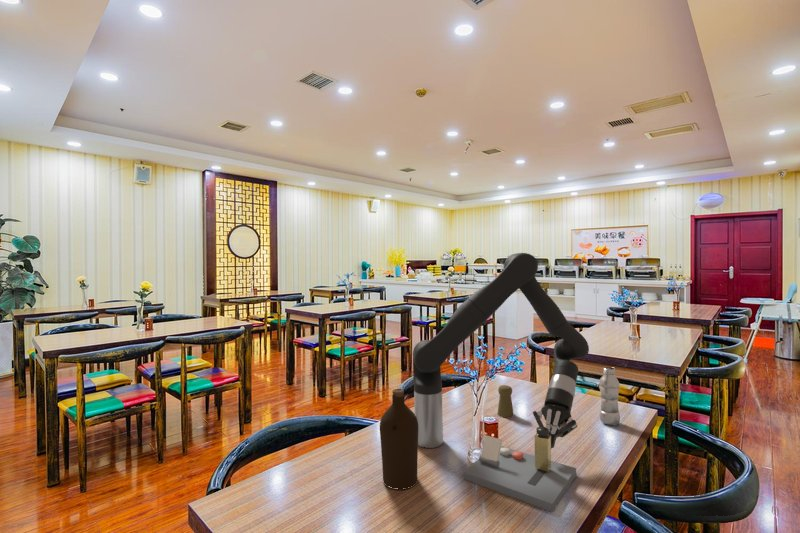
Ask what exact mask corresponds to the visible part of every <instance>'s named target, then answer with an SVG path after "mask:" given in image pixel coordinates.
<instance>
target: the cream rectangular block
mask: <svg viewBox="0 0 800 533" xmlns="http://www.w3.org/2000/svg"><path fill="white" fill-rule="evenodd" d="M502 442H503V440H502V439H500V438H497V437H493V436H490V435H487V434H485V435H484V440H483V445H482V450H481V454H480V455H479V457H478V459H479V461H481V462H484V463H487V464H490V465H493V466H496V467H499V465H500V462H499V455H500V450H501V446H502Z"/></svg>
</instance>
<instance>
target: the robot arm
mask: <svg viewBox="0 0 800 533" xmlns="http://www.w3.org/2000/svg"><path fill="white" fill-rule="evenodd" d="M538 269H539V263H538V260H537V259H536V257H535V256H534V255H532V254H530V253H527V252H517V253H514V254H511V255H509V256H507V258H506V259H505V261H504V263H503V270H502V271H501V272H499V274H498V275H497V276H496V277H495V278H494V279H492V281H490V282H488V283H487V284H486V285H484V286H482V287H481V288H479V289H478V290H476V291H475V292H473V293H471V295H470V296H468V298H466V300H464V301H463V302H462V303H461V305H459V306H458V307H457V309H456V310H455V311H454V312H453V314H452V315H451V316H450V318H449V319H448V321H447V323H446V324H445V326H444V327H443V328H442V329H441V330H440V331H439V332H438V333H437V334H436V335H434V336H433V337H432V338H431V339H424V340H420V341H418V342H417V343H416V345H415V346H414V347H413V351H412V369H413V370H412V373H413V374H412V377H413V396H414V400H413V401H414V402H413V403H414V405H413V406H414V412H413V413H414V414H415V416H416V418H417V421H418V445H419V446H418V447H420V448H424V447H425V448H426V449H434V448H438V447H440V446H442V445H443V443H444V427H443V426H444V422H443V421H444V420H443V419H444V418H443V417H444V415H443V413H444V412H443V382H442V373H441V371H442V370H441V366H442V365H443V364H444V363H445V361H447V359H448V358H449V357H450V356H451V355H452V354H453V352H454V351H455V350H456V349H458V347H459V346H460V345H461V344H462V343H464V342H465V341H466V340H467V339H468V338H469V337H470V336H472V334H474V332H476V331H477V330H478V329H479V328H480V327H482V326H483V325H484V323H485V322H486V321H488V319H489V318H490V317H492V315H493V314H495V313H496V312H497V310H498V309H499V308H500V307H501V306H502V305H503V304H504V303H505V302H506V301H507V300H508V299H509V298H510V296H512V295H513V294H514V293H515V292H517V291H518V290H520V291H521V293H522V294H523V296H524V297H525V298H526V299H527V301H528V302H529V304H530V305H531V307H532V309H533V310H534V312H535V314H536V315H537V316H538V319H539V320H540V322H541V323H542V325H543V326H544V327H545V329H546V331H547V332H548V333H549V335H550V336H552V337H558V338H560V339H558V340H557V341H556V342H555V344H554V347H553V354H554V355H553V356H554V357H553V358H554V367H553V373H552V376H551V378H550V381H549V384H548V387H547V391H546V396H545V399H544V404H543V405H542V407H541V408H540V410H538V411H536V410H534V411H533V412H532V414H533V416H534V419H535V420H536V423H537V425H538V427H545V428H548V429H549V436H551V450H552V449H554V448H555V444H556V439H557V438H559V437H560V438H564V437H566V436H567V435H568V434H570V433H571V432H572V431H574V430H575V429H576V428H578V423H577V421H576V420H575V419H573V417H572V414H571V412H572V407H573V402H574V397H575V396H576V394H575V393H576V384H577V380H578V375H579V366H578V365H577V364H576V363H575V362H573V361H571V360H576V359H582V358H586V357H587V356H588V354H589V352H590V351H589V350H590V347H589V343H588V341H587V340H586V338H585V336H583V334H582V333H580V332H579V331H578V330H577V329H576V328H575V327H574V326H573V325H572V324H570V323H569V321H568V320H567V319H566V317H565V315H564V314H563V312H562V311H561V309H560V308H559V306H558V305H557V303H555V301H554V300H553V299H552V298H551V297H550V295H549V294H548V293H547V292H546V291H545V290H544V289H543V287H542V286H541V284H540V283H539V281H538V280H537V278H536V274H537V272H538ZM543 418H544V419H545V426H544V424H543V422H542V419H543Z"/></svg>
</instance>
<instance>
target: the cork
mask: <svg viewBox="0 0 800 533" xmlns="http://www.w3.org/2000/svg"><path fill="white" fill-rule="evenodd" d="M497 392H498V394H499V399H498V406H497V407H498V408H497V416H499V417H500V418H507V419H509V418H513V417H514V415H515V413H514V408H513V401H512V394H513V388H512V387H511V386H510V385H507V384H503V385H500V386H498V389H497Z"/></svg>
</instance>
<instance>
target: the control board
mask: <svg viewBox="0 0 800 533" xmlns="http://www.w3.org/2000/svg"><path fill="white" fill-rule="evenodd" d="M499 462H500V465H499V467H496V466H493V465H490V464H487V463H484V462H481V461H479V458H477V459H476V460H475V461H474V462H473V463H472V464H470V466H468V467H467V468H466V469H465V470H464V471H463V480H465V481H468V482H469V483H470V482H471V483H473V484H476V485H478V486H482V487H483V488H486V489H489V490H492V491H495V492H497V493H500V494H502V495H504V496H508V497H510V498H513V499H515V500H518V501H521V502H524V503H527V504H529V505H531V506H534V507H538V508H539V509H542V510H545V511H548V512H550V513H553V512H554V511H555V509H556V508H557V507H558V505H559V503H560V501H561V500H562V498H563V497H564V495H565V493H566V492H567V491H568V489H569V488H570V486H571V484H572V483H573V481H574V480H575V478H576V476H577V468H576V467H574V466H571V465H566V464H563V463H561V462H556V461H553V460H551V469H550V470H549V472H547V471H543V470H540V469H537V468H535V455H534V454H529V453H527V452H526V453H525V452H523V451H519V450H516V449H513V448H509V447H506V446H503V445H501V450H500V455H499Z"/></svg>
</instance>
